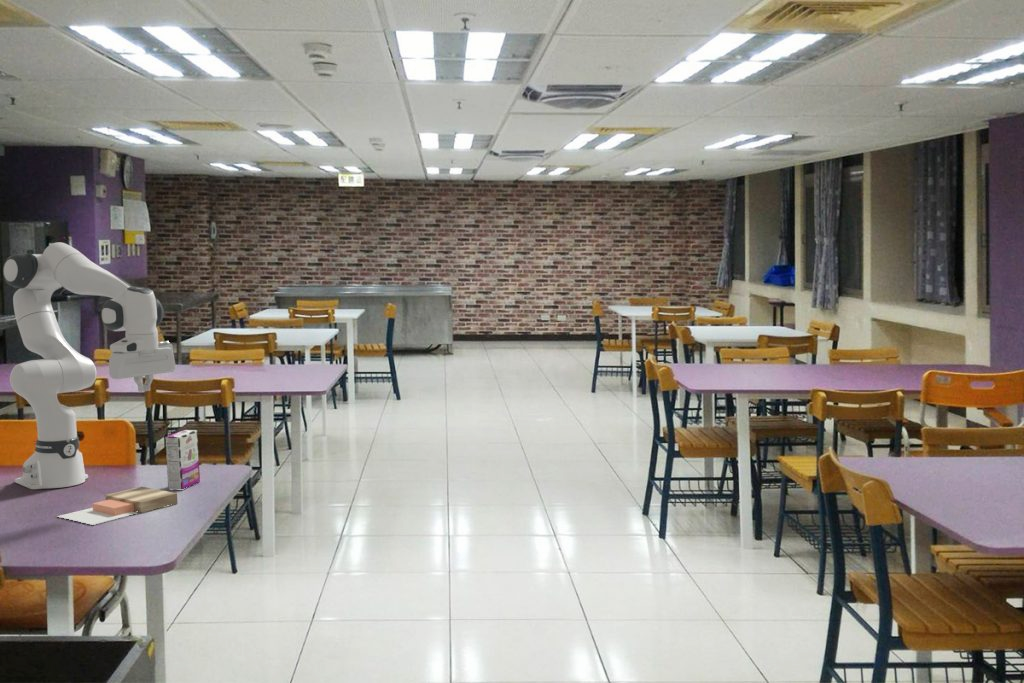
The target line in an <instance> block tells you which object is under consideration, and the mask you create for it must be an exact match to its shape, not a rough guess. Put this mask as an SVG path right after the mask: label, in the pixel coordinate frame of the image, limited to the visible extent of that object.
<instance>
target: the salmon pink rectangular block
mask: <svg viewBox="0 0 1024 683" xmlns="http://www.w3.org/2000/svg"><path fill="white" fill-rule="evenodd" d="M92 508H93V511H97V512H101V513H106V514H110V515H115V516H116V515H119V514H123V513H127V512H131V511H132V512H134V504H133V503H129V502H124V501H119V500H114V499H109V500H101V501H97V502H93V503H92Z"/></svg>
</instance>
